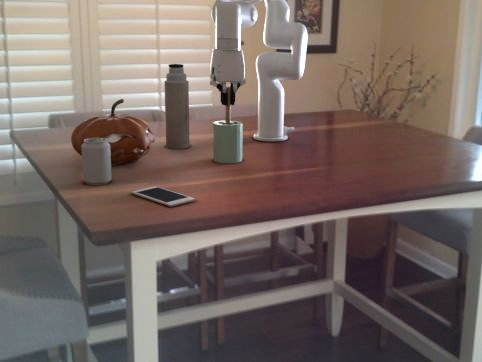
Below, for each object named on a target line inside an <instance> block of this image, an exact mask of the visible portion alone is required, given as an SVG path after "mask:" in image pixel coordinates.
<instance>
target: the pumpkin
mask: <svg viewBox="0 0 482 362" xmlns="http://www.w3.org/2000/svg"><path fill="white" fill-rule="evenodd" d="M123 103H125V100H124V98H120V99H118V100H116V101H115V102H113V104H112V106H111V108H110V109H111V110H110V113H109V114H96V115H94V116H92V117H89V118H86V119H85V120H82V122H80V123H79V124H77V126H75V128H74V129H73V131H72V133H71V136H70V138H71V139H70V141H71V146H72V148H73V150H74V151H75V152H76V153H77V154H78V155H80V156H81V157H82V148H81V146H82V144H83V143H84V140H85V139H88V138H105V139H107V142H108V143H109V144H110V154H111V166H117V165H120V164H132V163H135V162H136V161H139V160H140V159H141V158H143V157H144V156H146V155H147V154H148V153H149V152H150V151H151V145H152V143H155V142H156V136H155V134H154V133H153V132H152V131H151V129H150V125H149V123H148V122H147V121H145V120H143V119H141V118H139V117H137V116H133V115H130V114H127V113H122V114H117V113H115V111H116V108H117V107H118V106H119V105H121V104H123Z"/></svg>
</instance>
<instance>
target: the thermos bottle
mask: <svg viewBox="0 0 482 362" xmlns="http://www.w3.org/2000/svg"><path fill="white" fill-rule="evenodd" d="M184 69H185V68H184V64H183V63H169V64H168V73H166V76H165V78H166V80H164V117H165V147H166V148H167V149H174V150H176V149H177V150H180V149H188V148H189V147H190V95H189V94H190V93H189V92H190V90H189V89H190V88H189V82H190V81H189V80H187V78H188V76H187V74H186V73H185V70H184Z"/></svg>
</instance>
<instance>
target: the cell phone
mask: <svg viewBox="0 0 482 362" xmlns="http://www.w3.org/2000/svg"><path fill="white" fill-rule="evenodd" d="M131 194H132V195H135V196H137V197H141V198H144V199H147V200H150V201H153V202H155V203H159V204H161V205H165V206H168V207H171V208H172V207H176V206H180V205H183V204H187V203H191V202H195V198H194V197H191V196H189V195H185V194H182V193H179V192H176V191H173V190H170V189H166V188H163V187H160V186H158V185H157V186H150V187H146V188H141V189H137V190H132V191H131Z"/></svg>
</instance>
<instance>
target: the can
mask: <svg viewBox="0 0 482 362" xmlns="http://www.w3.org/2000/svg"><path fill="white" fill-rule="evenodd" d="M81 148H82V156H81V162H82V163H81V164H82V166H81V167H82V181H83V182H85V183H86V184H87V185H89V186H102V185H106V184H109V183H110V181H112V164H111V154H110V144H109V143H108V142H107V139H105V138H88V139H85V140H84V143H83V144H82V146H81Z"/></svg>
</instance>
